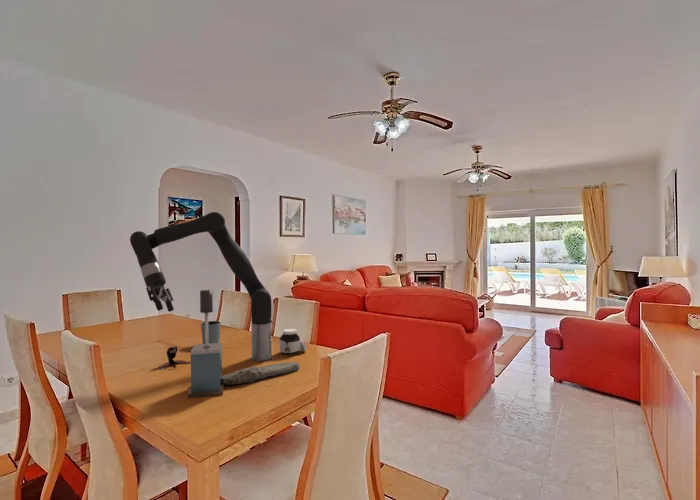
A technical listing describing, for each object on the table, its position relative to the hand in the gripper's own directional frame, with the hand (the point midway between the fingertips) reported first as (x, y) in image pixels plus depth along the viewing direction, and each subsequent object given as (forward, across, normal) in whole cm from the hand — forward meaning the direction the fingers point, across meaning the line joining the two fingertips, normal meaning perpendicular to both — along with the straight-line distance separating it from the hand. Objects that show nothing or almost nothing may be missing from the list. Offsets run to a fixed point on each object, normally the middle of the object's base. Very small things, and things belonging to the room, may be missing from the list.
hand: (166, 310), depth 160 cm
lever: (+26, -9, -13) cm, 30 cm away
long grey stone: (+42, +9, -23) cm, 49 cm away
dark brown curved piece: (+20, +21, +14) cm, 33 cm away
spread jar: (+37, +43, -32) cm, 65 cm away
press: (+37, -6, -7) cm, 38 cm away
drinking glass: (+14, +54, +9) cm, 56 cm away
